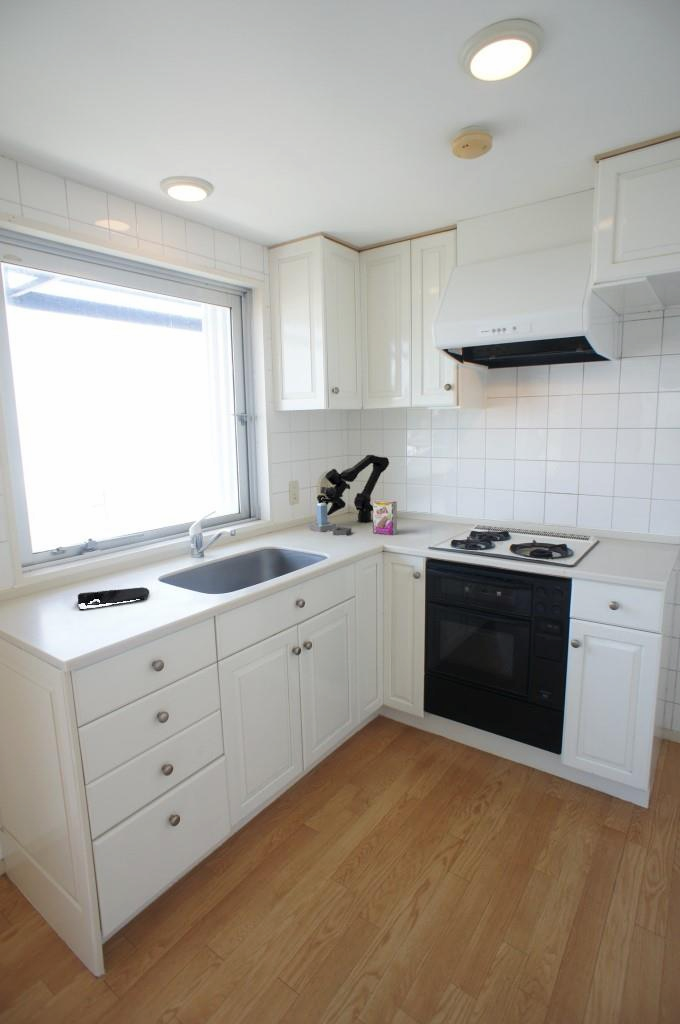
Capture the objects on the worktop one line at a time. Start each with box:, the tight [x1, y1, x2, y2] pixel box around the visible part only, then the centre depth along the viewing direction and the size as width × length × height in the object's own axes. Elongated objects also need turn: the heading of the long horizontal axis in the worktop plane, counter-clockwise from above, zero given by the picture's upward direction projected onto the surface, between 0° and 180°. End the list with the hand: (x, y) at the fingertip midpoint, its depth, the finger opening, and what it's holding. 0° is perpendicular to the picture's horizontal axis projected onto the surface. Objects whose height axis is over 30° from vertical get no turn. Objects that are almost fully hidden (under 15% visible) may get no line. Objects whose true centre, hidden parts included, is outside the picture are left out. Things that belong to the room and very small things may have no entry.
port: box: [308, 521, 337, 533], centre depth 280 cm, size 10×10×4 cm
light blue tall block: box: [315, 502, 329, 525], centre depth 279 cm, size 4×4×14 cm
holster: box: [332, 526, 352, 536], centre depth 268 cm, size 7×7×2 cm
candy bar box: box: [372, 499, 398, 536], centre depth 264 cm, size 11×5×16 cm, turn 58°
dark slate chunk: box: [77, 587, 150, 606], centre depth 179 cm, size 15×22×5 cm
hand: (322, 513), depth 279 cm, fingers open, 9 cm apart
